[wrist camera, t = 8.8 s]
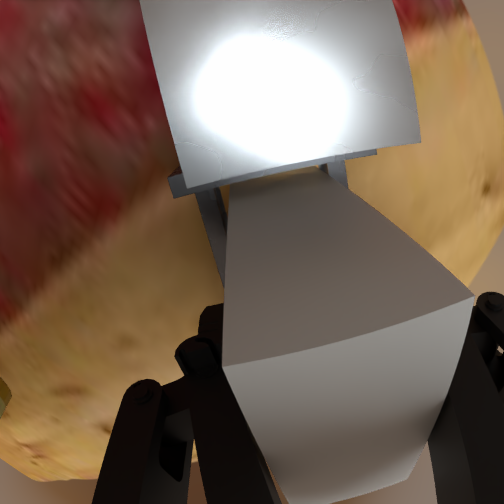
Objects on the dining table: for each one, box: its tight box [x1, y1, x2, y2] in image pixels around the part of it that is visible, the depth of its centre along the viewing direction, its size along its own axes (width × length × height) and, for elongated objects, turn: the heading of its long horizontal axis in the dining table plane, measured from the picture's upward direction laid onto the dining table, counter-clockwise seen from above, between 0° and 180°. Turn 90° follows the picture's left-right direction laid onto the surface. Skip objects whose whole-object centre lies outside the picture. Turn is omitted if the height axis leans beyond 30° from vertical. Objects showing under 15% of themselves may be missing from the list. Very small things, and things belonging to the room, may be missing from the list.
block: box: [222, 166, 475, 504], centre depth 11 cm, size 4×8×11 cm, turn 13°
